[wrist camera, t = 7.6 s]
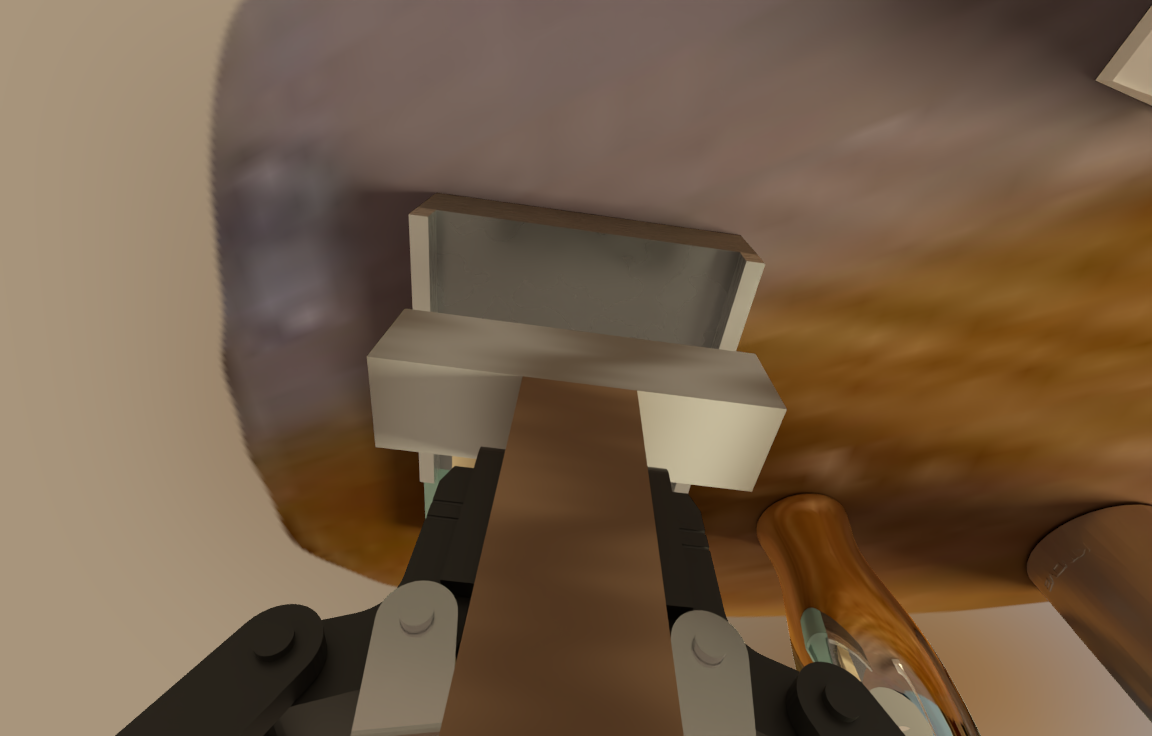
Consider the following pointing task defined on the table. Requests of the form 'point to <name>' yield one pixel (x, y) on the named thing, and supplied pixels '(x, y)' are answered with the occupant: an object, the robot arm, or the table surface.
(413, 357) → the rake tool
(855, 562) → the beer glass
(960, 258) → the table surface
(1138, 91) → the headphone stand
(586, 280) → the open box
